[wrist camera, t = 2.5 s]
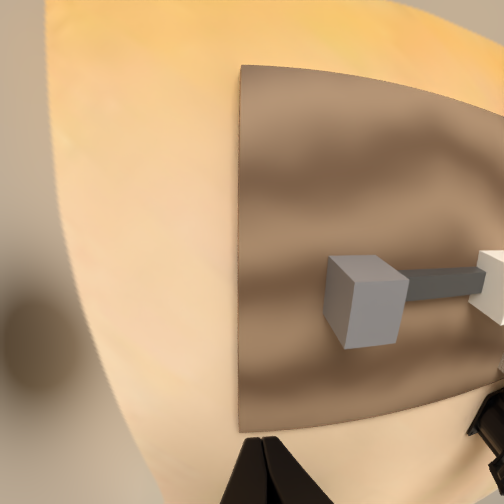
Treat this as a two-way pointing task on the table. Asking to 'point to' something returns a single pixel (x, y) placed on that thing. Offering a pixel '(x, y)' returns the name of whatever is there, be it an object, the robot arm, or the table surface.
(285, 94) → the base board
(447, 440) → the table surface
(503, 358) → the motor housing
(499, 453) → the robot arm
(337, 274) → the plug
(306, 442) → the table surface
